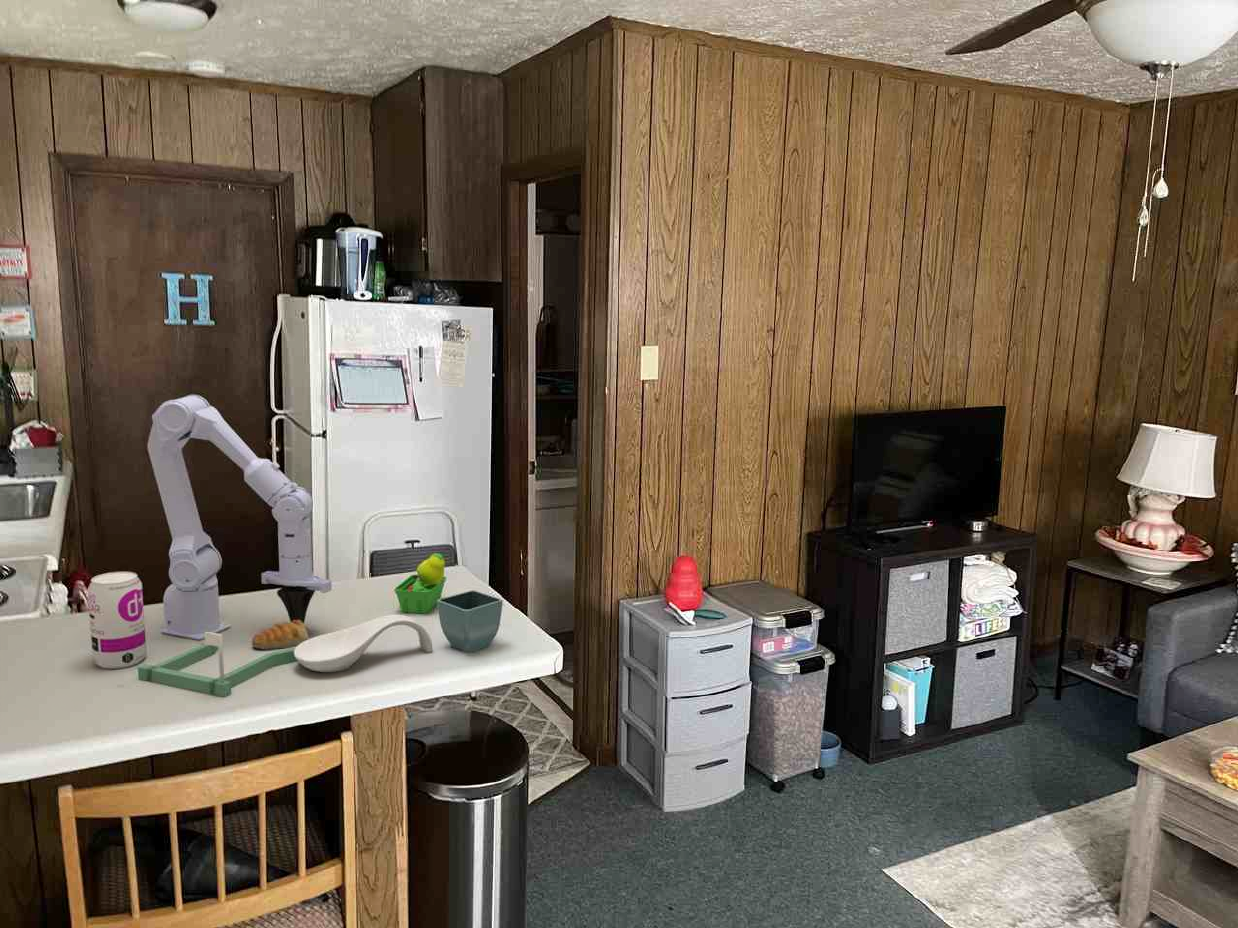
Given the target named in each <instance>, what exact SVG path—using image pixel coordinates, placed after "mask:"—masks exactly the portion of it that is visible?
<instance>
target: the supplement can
mask: <svg viewBox="0 0 1238 928" xmlns="http://www.w3.org/2000/svg"><path fill="white" fill-rule="evenodd" d="M143 597H144V595H143V583H142V581H141V579H140V577H138V574H137V573H136V572H132V571H113V572H107V573H102V574H98V575H96V576H93V577H92V578H91V580H90V583H89V585H88V587H87V599H88V601H87V602H88V611H89V614H88V615H89V625H90V639H91V648H92V649H91V650H92V661H93V663H94V664H95V665H97V666H98V667H100V668H101V669H109V670H112V669H113V670H114V669H115V670H117V669H124V668H129V667H131V666H135V665H137V664H139V663H140V662H142V661H143V660H144V658H145V657H147V654H148V653H147V640H146V626H145V611H144V610H145V609H144V598H143Z"/></svg>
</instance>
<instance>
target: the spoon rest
mask: <svg viewBox="0 0 1238 928" xmlns="http://www.w3.org/2000/svg"><path fill="white" fill-rule="evenodd" d="M395 626H406V627H410V628H412V629H414V631H416V632H417V634H418V640H419V646H420V647H421V648H422V649H423V650H424V651H425V652H427V653H432V652H433V644H432V639H431V637H430V634H429V633H428V631H427V629H426V628H424V627H423V625H421V624H420V622H419V621H417V620H416V619H414V618H412V617H411V616H407V615H402V614H390V615H389V614H388V615H384V616H380V617H378V618H375V619H371V620H368V621H366V622H363V623H360V624H357V625H354V626H350V627H347V628H344V629H341V630H337V631H333V632H329V633H325V634H321V635H318V636H314V637H311V638H308V640H306V641H304V642H302V643H301V644H299V645H297V646H295V647H294V648H295V650H294V656H295V658H296V659H297V661H296V662H298V663H299V664H301V665H302V666H303V667H304V668H307V669H309V670H311V671H315V672H321V673H336V672H339V671H340V672H341V671H345V670H347V669H349V668H350V667H351V666H352V665H353V664H354V663H356V661H358V659H359V658H360V657H361V656H362V655H363V654H364V652H365V651H366V650H367V649H368V648H369V647H370V646H371V644H372V643H373V642H374V641H375V640H376V639H377V637H379V635H381V634H382V633H383V632H384V631H386V630H388V629H390V628H393V627H395ZM344 669H345V670H344Z"/></svg>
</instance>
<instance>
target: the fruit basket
mask: <svg viewBox="0 0 1238 928" xmlns="http://www.w3.org/2000/svg"><path fill="white" fill-rule="evenodd" d="M445 564H446V562H445V560H444V556H443V555H442V554H440V553H433V554H431V555H430V556H429V557H428V559H425V560H424V561H422V562H421V563H420V564H419V565H418V566H417V568H416V572H417V574H412V575H409V576H408V577H407V578H406V579H405V580H403V581H402V582H401V583H400V584H399V585H397V586H396V587H395V588H394V593H395V595H396V596H397V600H398V603H399V607H400V610H401V612H402V613H409V614H427V613H428V612H429V611H430V610H432V609H433V607H434V606H436V605H437V600H438V599H442V598H441V596H442V594H443V589H444V585H445V583H446V580H447V577H446V576H444V575H445V567H446V566H445Z"/></svg>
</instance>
